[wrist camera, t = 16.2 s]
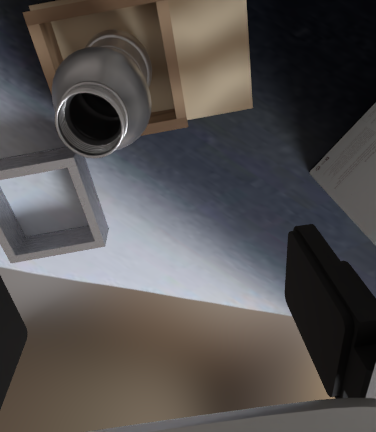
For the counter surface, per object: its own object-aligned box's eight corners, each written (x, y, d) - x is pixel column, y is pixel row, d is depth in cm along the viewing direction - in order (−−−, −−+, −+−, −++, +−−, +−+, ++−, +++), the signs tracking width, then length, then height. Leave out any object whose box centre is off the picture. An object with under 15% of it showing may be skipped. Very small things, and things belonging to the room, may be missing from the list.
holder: (-21, 162, 41) (-37, 177, 38) (80, 144, 41) (73, 157, 37) (21, 244, 47) (10, 263, 44) (108, 228, 47) (105, 246, 44)
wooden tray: (33, 5, 33) (14, 6, 29) (240, -34, 33) (255, -39, 29) (77, 136, 40) (67, 154, 36) (249, 104, 40) (262, 118, 35)
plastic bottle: (135, 16, 33) (116, 32, 16) (162, 86, 37) (170, 159, 20) (73, 42, 34) (-5, 85, 17) (106, 108, 38) (68, 198, 21)
